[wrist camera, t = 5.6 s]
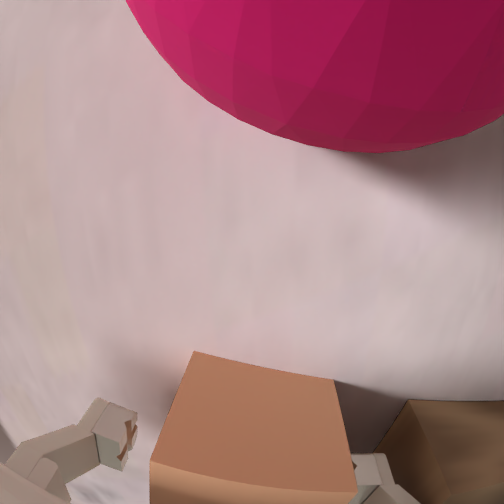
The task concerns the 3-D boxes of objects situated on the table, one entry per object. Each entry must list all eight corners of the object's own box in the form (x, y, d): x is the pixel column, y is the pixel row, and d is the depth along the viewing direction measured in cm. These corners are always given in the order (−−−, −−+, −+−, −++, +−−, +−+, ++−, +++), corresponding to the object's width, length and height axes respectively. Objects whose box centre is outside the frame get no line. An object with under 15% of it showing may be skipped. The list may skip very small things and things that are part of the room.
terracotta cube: (333, 378, 11) (357, 492, 6) (292, 459, 12) (293, 554, 7) (194, 349, 11) (149, 460, 6) (180, 437, 12) (150, 530, 7)
